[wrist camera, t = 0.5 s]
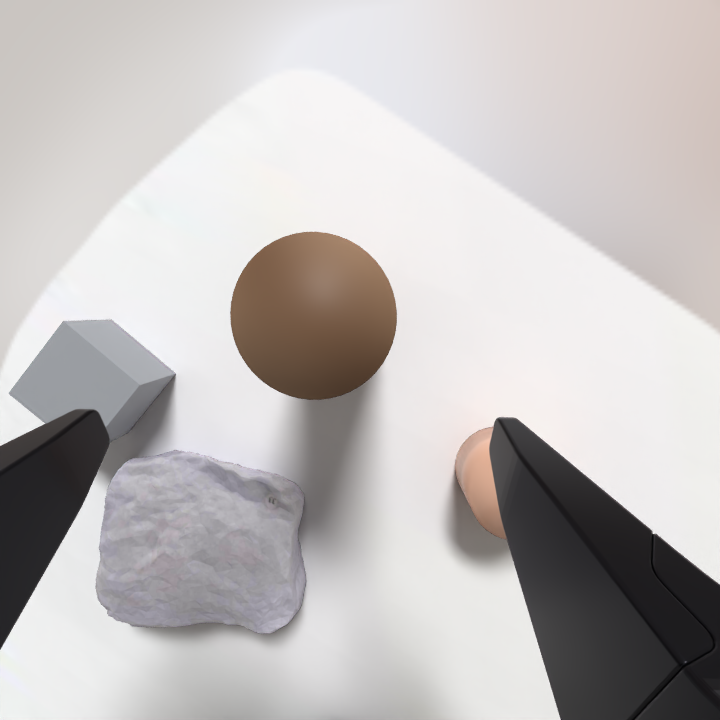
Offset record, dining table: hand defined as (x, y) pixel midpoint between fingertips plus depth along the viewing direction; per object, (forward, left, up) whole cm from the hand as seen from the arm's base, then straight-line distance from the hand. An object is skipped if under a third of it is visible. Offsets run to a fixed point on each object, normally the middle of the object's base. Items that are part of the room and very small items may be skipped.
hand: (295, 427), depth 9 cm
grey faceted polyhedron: (-10, +10, -15) cm, 21 cm away
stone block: (-13, -1, -16) cm, 21 cm away
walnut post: (+2, +2, -15) cm, 16 cm away
